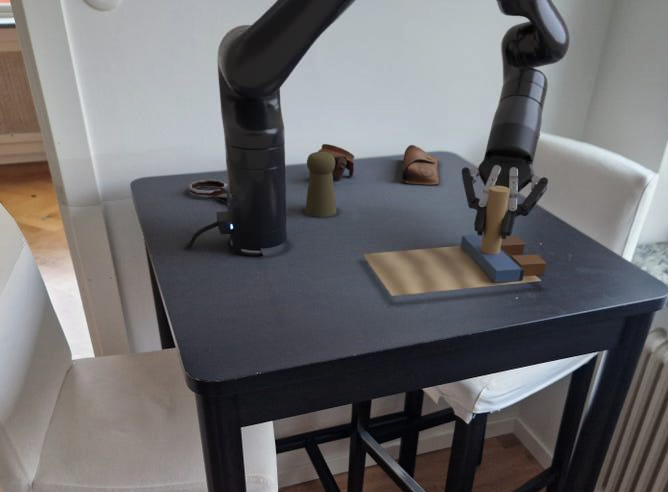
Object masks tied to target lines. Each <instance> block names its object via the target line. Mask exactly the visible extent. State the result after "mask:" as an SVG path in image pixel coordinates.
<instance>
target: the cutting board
mask: <svg viewBox="0 0 668 492" xmlns="http://www.w3.org/2000/svg"><path fill="white" fill-rule="evenodd" d="M361 255H362V257H363V258H364V259H365V261H366V262H367V264H368V265H369V266H370V268H371V269H372V271H373V272H374V273H375V275H376V277H378V279H379V280H380V282H381V283H382V285H383V286H384V287H385V288H386V289H387V292H388V293H389V294H390V296H391V297H395V296H396V297H397V296H406V295H416V294H424V293H425V294H426V293H435V292H436V293H437V292H445V291H456V290H464V289H474V288H485V287H494V286H495V287H496V286H503V285H504V286H505V285H513V284H523V283H534V282H541V281H542V280H541V279H540V278H539V277H538V275H534V276H523V280H522V281H509V282H494V281H493V280H492V279H491V278H490V277H489V276H488V275H487V274H486V273H485V272H484V271H483V270H482V269H481V268H480V266H479V265H478V264H477V263H476V262H475V261H474V260H473V259H472V258H471V257H470V256H469V255H468V254H467V253H466V252H465V250H464V249H463V248H462V247H461V245H455V246H443V247H432V248H431V247H430V248H421V249H420V248H418V249H407V250H396V251H383V252H372V253H362V254H361ZM510 257H511V256H510Z"/></svg>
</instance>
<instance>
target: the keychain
mask: <svg viewBox="0 0 668 492" xmlns="http://www.w3.org/2000/svg"><path fill="white" fill-rule="evenodd" d="M227 186H228V183H227V182H224V181H222V180H219V179H202V180H201V179H200V180H196V181H194V182H191V183H189V185H188V193H189V194H190V195H192V196H193V197H196V198H205V199H207V198H215V199H217V200H219V202H222V203H224V204H227V192H226V187H227ZM206 187H214V188H218V189H212V190H205V189H204V190H202V189H199V188H206Z"/></svg>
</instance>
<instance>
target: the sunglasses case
mask: <svg viewBox="0 0 668 492" xmlns="http://www.w3.org/2000/svg"><path fill="white" fill-rule="evenodd" d="M439 163H440V159H439V158H438V157H436V156H434V155H431V154H429V153H428V152H426V151H425V150H424V149H422V148H420V147H418V146H417V145H414V144H410V145H408V146H407V147H406V149H405V151H404V155H403V161H402V168H401V169H402V171H401V178H402V180H403V182H404V184H405V183H406V184H407V185H408V184H410V185H416V186H435V185H436V186H437V185H439V184H440V177H439Z"/></svg>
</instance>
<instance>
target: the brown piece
mask: <svg viewBox="0 0 668 492" xmlns="http://www.w3.org/2000/svg"><path fill="white" fill-rule="evenodd" d="M317 152H327V153H330V154H332V155H333V157H334V158H335V167H334V170H333V171H332V176H333V183H335V182H341V181H342V178H343V175H344V172H345V170H348V177H349V178H351V177H353V176H354V173H355V166H354V165H355V163H354V159H355V155H354V154H353V153H351V152H350V151H348V150H346V149H344V148H342V147H340V146H336V145H333V144H328V143H323V144H321V148H320V149H318V150H317ZM309 176H310V171H309V170H308V177H309Z"/></svg>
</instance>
